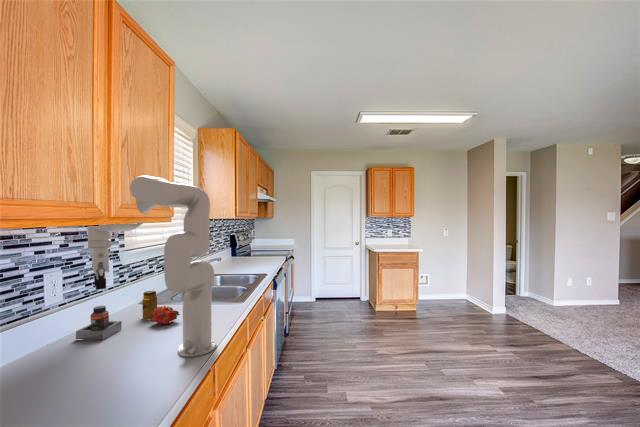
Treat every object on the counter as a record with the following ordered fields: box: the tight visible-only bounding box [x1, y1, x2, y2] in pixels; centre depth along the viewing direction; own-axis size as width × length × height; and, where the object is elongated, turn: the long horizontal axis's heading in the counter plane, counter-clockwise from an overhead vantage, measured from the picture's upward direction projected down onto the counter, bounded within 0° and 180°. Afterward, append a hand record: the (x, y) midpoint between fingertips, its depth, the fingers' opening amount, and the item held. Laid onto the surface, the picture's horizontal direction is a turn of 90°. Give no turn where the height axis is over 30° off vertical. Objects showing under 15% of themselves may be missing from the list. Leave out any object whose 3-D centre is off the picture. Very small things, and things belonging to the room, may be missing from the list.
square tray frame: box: [75, 320, 123, 341], centre depth 118 cm, size 10×10×4 cm
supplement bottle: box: [90, 305, 110, 330], centre depth 118 cm, size 6×6×11 cm
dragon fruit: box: [150, 305, 181, 326], centre depth 129 cm, size 8×8×12 cm
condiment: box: [139, 290, 158, 321], centre depth 139 cm, size 7×8×12 cm
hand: (100, 286), depth 118 cm, fingers open, 9 cm apart
